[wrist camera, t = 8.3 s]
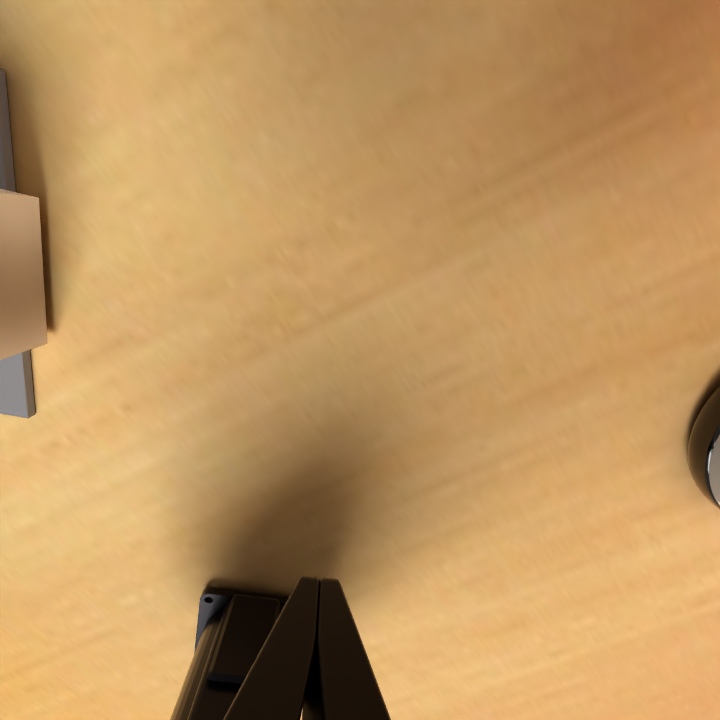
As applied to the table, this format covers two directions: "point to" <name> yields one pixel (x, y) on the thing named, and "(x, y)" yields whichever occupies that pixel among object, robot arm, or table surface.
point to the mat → (13, 374)
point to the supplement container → (706, 449)
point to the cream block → (21, 275)
